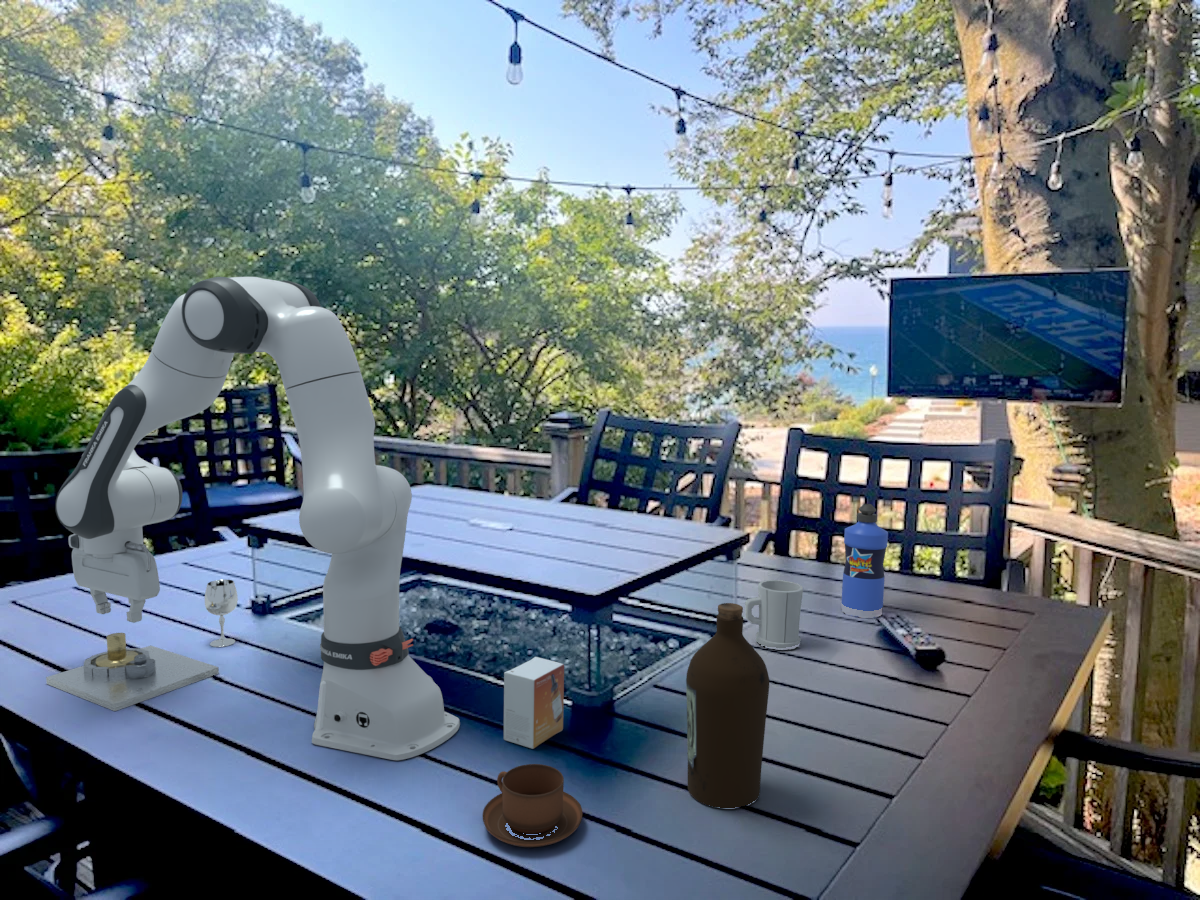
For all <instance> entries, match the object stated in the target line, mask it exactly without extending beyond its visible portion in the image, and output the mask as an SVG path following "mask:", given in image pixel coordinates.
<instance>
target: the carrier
mask: <svg viewBox="0 0 1200 900" xmlns="http://www.w3.org/2000/svg"><path fill="white" fill-rule="evenodd" d="M126 651H134V652H137V653H138V655H137V656H135V657H134V660H133V661H130V662H128V663H127V664H125V665H119V666H113V667H97V666H96V659H97V658H98V657H100V656H102V655H105V654H108V653H107V650H106V651H103V652H100V653H96V654H94V655H92V656H90V657H89V658H86V659H85V660H84V661H83V665H82V666H77V667H75V668H72V669H68V670H66V671H62V672H59V673H55V674H52V675H49V676H48V675H47V676H46V678H45V680H46V685H48V686H51V687H53V688H56V689H58V690H60V691H63V692H65V693H69V694H71V695H73V696H74V697H77V698H80V699H83V700H85V701H88V702H91V703H93V704H95V705H98V706H101V707H102V708H106V709H108V710H111V711H113V712H116V711H119V710H120V711H121V710H123V709H125V708H128V707H130V706H134V705H136V704H138V703H142V702H145V701H148V700H151V699H152V698H155V697H158V696H162V695H164V694H166V693H169V692H172V691H174V690H178V689H180V688H183V687H186V686H189V685H191V683H192V684H194V683H197V682H200V681H203V680H206V679H208V678H211V677H213V675H214V676H216V675H218V674H220V671H219V666H216V665H214V664H209V663H208V662H204V661H201V660H198V659H194V658H192V657H188V656H186V655H182V654H179V653H176V652H173V651H169V650H167V649H163V648H160V647H157V646H153V645H148V646H145V647H141V648H139V647H138V648H134V647H133V648H132V647H131V648H128V647H126Z"/></svg>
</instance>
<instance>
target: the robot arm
mask: <svg viewBox="0 0 1200 900" xmlns="http://www.w3.org/2000/svg"><path fill="white" fill-rule="evenodd" d="M254 353H266V354H268V355H269V357H272V359H273V360H274V361H275V363H276V366H277V368H278V370H279V374H280V377H281V381H282V384H283V389H284V391H285V395H286V399H287V402H288V406H289V409H290V412H291V416H292V419H293V423H294V427H295V429H296V433H297V437H298V443H299V447H300V457H301V470H302V482H303V483H302V484H303V485H302V487H303V489H302V490H303V499H302V503H301V507H300V510H299V516H298V520H299V521H298V522H299V523H298V524H299V528H300V530H301V534H302V535H303V536H304V538H305V540H306V541H307V542H308V543H309V544H310V545H311V546H312V547H313V548H314V549H317V550H318V551H320V552H324V553H326V554H331V556H330V562H329V566H328V569H327V571H326V572H327V573H326V575H325V577H324V579H323V585H322V597H323V599H322V600H323V602H322V603H323V605H322V607H323V632H322V633H321V636H320V645H319V648H320V658H321V660H322V661H323V667H322V674H321V677H320V684H319V690H318V701H317V712H316V716H315V718H314V719H315V720H314V722H313V728H314V731H313V732H312V734H311V735H312V736H311V743H312V745H313V744H314V745H316V746H321V747H326V748H331V749H335V750H339V751H340V750H341V751H346V752H351V753H356V754H360V755H366V756H371V757H375V758H382V759H387V760H391V761H403V760H406V759H410V758H415V757H417V756H419V755H422V754H424V753H426V752H430V750H433V749H435V748H436V747H438V746H440V745H441V744H443V743H446V741H447V740H449V739H450V738H451V737H453V736H454V735H455V734H456V733H457V732H458V730H459V729H460V725H461V722H460V718H459V717H457V716H455V715H453V714H451V713H449V712H447V711H445V708H444V699H443V693H442V691H441V688H440V687H439V686H438V684H436V683H435V681H434V680H433V678H432V677H431V676H430V675H428V674H427V673H426V672H425V671H424V670H423V669H422V668H421V667H420V666H419V664H417V663H416V662H415V660H414V659H413V658H412V657H411V656H410V655H409V653H410V651H409V648H410V647H413V646H414V644H413V643H412V642H413V641H414V638H410V639H408V640H406V638H405V635H404V633H403V632H404V631H403V630H402V627H401V626H400V578H401V577H400V574H401V568H402V561H403V554H404V550H405V549H404V548H405V542H406V541H405V540H406V534H407V523H408V515H409V511H410V508H411V504H412V499H413V498H412V497H413V495H412V488H411V485H410V483H409V482H408V480H407V479H406V477H405V476H404V475H403V474H402V472H400V471H398V470H397V469H394V468H392V467H390V466H389V467H388V466H383V465H379V464H376V456H375V444H374V443H375V441H374V440H375V439H374V437H375V435H374V434H375V429H376V421H375V416H374V413H373V410H372V406H371V404H370V400H369V395H368V392H367V390H366V384H365V382H364V379H363V375H362V372H361V369H360V365H359V362H358V360H357V359H358V358H357V355H356V354H355V351H354V348H353V346H352V343H351V341H350V339H349V337H348V334H347V333H346V331H345V328H344V326H343V324H342V321H340V319H339V318H338V316H337V315H336V314H335V313H334V312H333V311H331V310H330V309H328V308H325V307H322V306H321V304H320V302H319V300H318V298H317V295H315V294H314V292H313V291H311V290H310V289H309V288H307V287H306V286H304V285H302V284H299V283H296V282H294V281H290V280H286V279H285V280H284V279H283V280H274V279H269V278H263V277H259V276H258V277H257V276H232V277H226V276H216V277H211V278H206V279H204V280H200V281H198V282H195V283H194V284H193V285H191V286H190V288H188V290H187V291H186V292H185V293H183V294H182V295H180V296H179V297H177V298H176V299H175V301H174V302H173V303H172V306H171V307H170V309H169V310H168V312H167V314H166V316H165V318H164V319H163V322H162V324H161V326H160V328H159V330H158V333H157V335H156V337H155V341H154V343H153V345H152V348H151V351H150V354H149V356H148V358H147V360H146V362H145V363H144V365H143V367H142V368H141V369H140V370H139V372H138V373H137V374H136V376H135V377H134V378H133V379H132V380H131V381H130V382H129V383H128V384H127V385H126V386H124V387H123V388H121V389H120V390H119V391H118V392H117V393H115V395H114V396H113V397H112V399H111V401H110V402H109V404H108V406H107V407H106V409H105V410H104V413H103V414H102V417H101V418H100V420H99V422H98V425H97V427H96V429H95V431H94V432H93V434H92V436H91V438H90V440H89V442H88V443H87V446H86V448H85V450H84V451H83V453H82V455H81V456H80V457H81V458H80V459H79V461H78V463H77V465H76V467H75V468H74V469H73V471H72V473H71V474H70V475H68V477H67V478H66V479H65V481H64V482H63V484H61V487H60V489H59V490H58V492H57V494H56V495H57V496H56V499H55V502H54V503H55V504H54V505H55V514H56V517H57V520H58V521H59V523H60V524H61V525H62V526H63V527H64V528H65V529H66V530H68V531H69V532H71V533H73V534H70V535H69V536H68V541H67V542H68V545H69V548H71V549H72V551H71V565H72V571H73V577H74V580H75V582H76V584H77V586H79V587H83V588H86V589H90V590H89V591H90V596H91V598H92V601H93V602H94V604H95V612H96V613H97V614H100V615H106V614H109V613H111V611H112V608H111V607H112V603H111V602H110V601H109V600H108V596H107V594H110V595H115V596H118V597H123V598H127V599H128V604H130V607H129V611H126V621H127V622H129V623H133V624H134V623H138V622H141V621H142V620H143V610H144V607H145V604H146V602H147V601H146V600H148V599H152V598H156V597H158V595H159V593H160V590H161V586H160V577H159V571H158V566H157V561H156V559H155V556H154V554H152V553H151V552H150V551H149V549H148V548H147V546H146V545H145V544H144V535H143V531H144V530H143V526H147V525H152V524H158V523H162V522H166V521H168V520H170V519H172V518H174V517H175V516H176V515H177V513H178V512H179V510H180V508H181V506H182V502H183V497H184V496H183V487H182V484H181V481H180V480H179V478H178V476H177V475H176V474H175V473H174V472H173V471H171V470H170V469H169V468H167V467H164V466H158V465H155V464H153V463H151V462H148V461H147V460H144V458H141V457H140V456H139V455H138V454H137V452H136V450H135V448H136V446H137V445H138V443H140V441H141V440H143V438H145V437H146V436H147V435H149V434H151V433H152V432H154V431H156V430H158V429H160V428H163V427H164V426H167V425H170V424H171V423H174V422H177V421H180V420H183V419H186V418H188V417H189V418H190V417H192V416H195V415H197V414H200V413H201V412H203V411H204V410H207V409H209V407H210V406H211V405H213V403H214V402H215V401H216V399H217V398H218V396H219V395H220V393H221V391H222V390H223V388H224V384H225V382H226V379H227V375H228V373H229V370H230V368H231V364H232V361H233V358H234V356H235V354H246V355H251V354H254ZM411 643H412V644H411Z"/></svg>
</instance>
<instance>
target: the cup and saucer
mask: <svg viewBox="0 0 1200 900" xmlns="http://www.w3.org/2000/svg"><path fill="white" fill-rule="evenodd" d="M496 783H497V787H498V789H499V790H500V793H499V794H497V795H496V796H494V797H493V798H492V799H490V800H489V801H488V802H487V803H486V804H485V806H484V808H483V810H482V822H483V825H484V827H485V829H486V830H487V832H489V834H491V835H492V836H493V837H494V838H496V839H497V840H499V841H501V842H503V843H505V844H507V845H511V846H516V847H521V848H537V847H539V848H540V847H544V846H546V847H547V846H549V845H553V844H556V843H559V842H561V841H563V840H565V839H566V838H568V837H569V836H571V835H572V834H573V833H574V832H576V830H578V828H579V826H580V824H581V823H582V819H583V808H582V806H581V804H580V802H579V801H578V800H577V799H576V798H575V797H574V796H572V795H571V794H570V793H567V792H565V791H564V788H565V786H564V783H565V779H564V775H563V774H562V772H561V771H560V770H559V769H557V768H555V767H553V766H550V765H547V764H540V763H539V764H538V763H529V764H527V763H526V764H524V765H523V764H522V765H518V766H516V767H513V768H511V769H509V770H508V771H504V770H502V771H500V772H499V773H498V775H497V780H496ZM506 823H508V825H509V826H510V828H511V830H512V832H513V833H515V834H517V835H519V837H520V836H523V837H524V838H529V837H530V838H531V839H533V838H536V837H543V836H544V838H543V839H540V840H536V839H534V840H524V839H520V838H518V837H515V836H517V835H515V836H512V835H511V834H510V833H509V831H507V830H506V828H507V827H505V825H506ZM555 826H557V827H558V829H557V828H555ZM554 829H557V830H555V833H554V832H552V831H553V830H554ZM550 832H551V833H550ZM523 833H524V834H523ZM539 833H541V834H539ZM526 834H538V835H526ZM547 834H551V835H550V836H546V835H547Z"/></svg>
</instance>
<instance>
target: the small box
mask: <svg viewBox="0 0 1200 900" xmlns="http://www.w3.org/2000/svg"><path fill="white" fill-rule="evenodd" d="M503 676H504V677H503V740H504V741H506V742H510V743H514V744H515V745H519V746H523V747H526V748H529V749H532V750H533V749H535V748H537V747H538V746H539V745H541V744H542V743H544V742H545V741H548V740H549V739H550V738H552V737H553V736H555V735H556V734H558V733H561V732H562V731H563V729H564V702H565V701H564V696H565V693H564V691H565V664H564V663H561V662H557V661H554V660H550V659H547V658H542V657H539V656H534V657H533V658H532V659H530V660H528V661H526V662H523V663H521V664H520V665H517V666H516V667H513V668H511V669H510V670H507V671H504V672H503Z"/></svg>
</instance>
